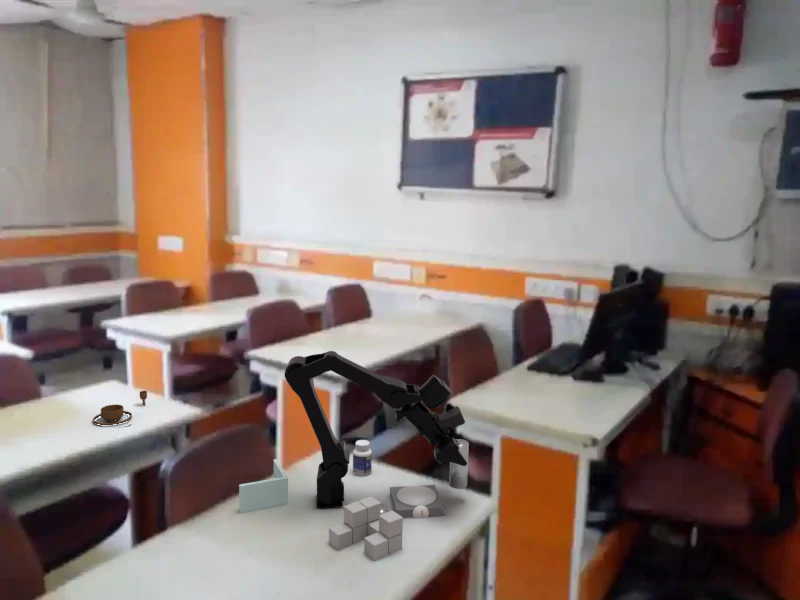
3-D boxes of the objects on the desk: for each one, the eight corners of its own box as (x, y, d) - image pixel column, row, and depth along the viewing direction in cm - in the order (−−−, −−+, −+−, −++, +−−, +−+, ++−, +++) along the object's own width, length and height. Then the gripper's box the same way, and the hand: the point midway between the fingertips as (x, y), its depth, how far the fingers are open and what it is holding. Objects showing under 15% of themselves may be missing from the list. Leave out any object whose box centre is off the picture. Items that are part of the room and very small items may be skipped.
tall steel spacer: (451, 489, 165) (453, 446, 162) (447, 480, 169) (449, 439, 167) (468, 488, 165) (470, 446, 163) (464, 479, 170) (466, 438, 168)
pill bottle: (368, 477, 180) (369, 447, 178) (350, 475, 181) (350, 445, 179) (373, 469, 185) (373, 439, 183) (355, 467, 186) (356, 438, 184)
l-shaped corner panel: (277, 484, 176) (276, 458, 174) (288, 505, 165) (287, 478, 164) (232, 492, 171) (231, 466, 169) (240, 514, 160) (239, 486, 159)
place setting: (86, 417, 220) (85, 401, 219) (146, 405, 232) (145, 389, 231) (101, 434, 207) (100, 416, 206) (164, 419, 219) (163, 403, 218)
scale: (396, 522, 159) (396, 507, 158) (389, 498, 171) (390, 483, 170) (444, 519, 160) (445, 505, 160) (434, 495, 172) (434, 481, 172)
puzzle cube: (328, 543, 148) (328, 511, 146) (371, 526, 155) (371, 495, 154) (358, 568, 139) (359, 534, 137) (402, 549, 146) (403, 517, 145)
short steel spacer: (372, 525, 156) (372, 513, 155) (370, 515, 160) (370, 504, 159) (390, 524, 156) (390, 512, 156) (387, 514, 161) (388, 503, 160)
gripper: (451, 411, 153) (495, 455, 156) (441, 386, 172) (480, 425, 175) (417, 443, 154) (461, 485, 157) (411, 414, 173) (450, 453, 175)
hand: (464, 460), depth 166 cm, fingers closed on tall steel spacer, 5 cm apart
